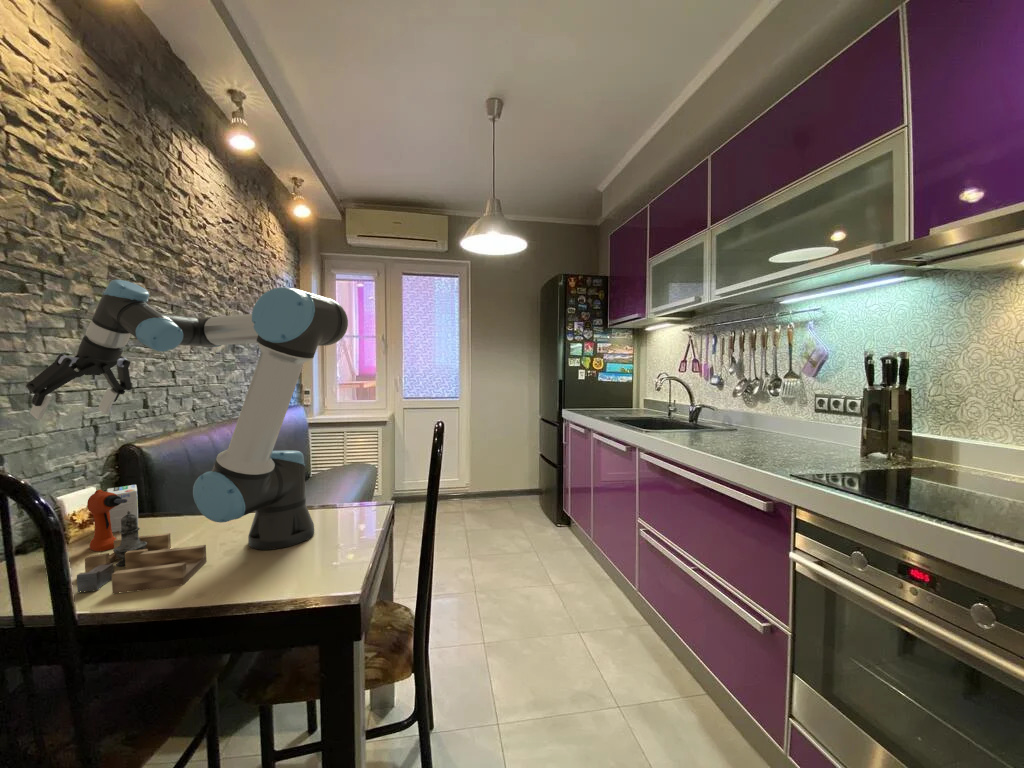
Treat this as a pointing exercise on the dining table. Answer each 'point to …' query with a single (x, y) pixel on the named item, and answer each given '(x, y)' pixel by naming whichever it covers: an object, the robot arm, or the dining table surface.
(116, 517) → the light bulb box
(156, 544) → the socket frame
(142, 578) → the rack
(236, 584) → the dining table surface
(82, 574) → the bar
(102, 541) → the toy drill
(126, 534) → the chess piece
